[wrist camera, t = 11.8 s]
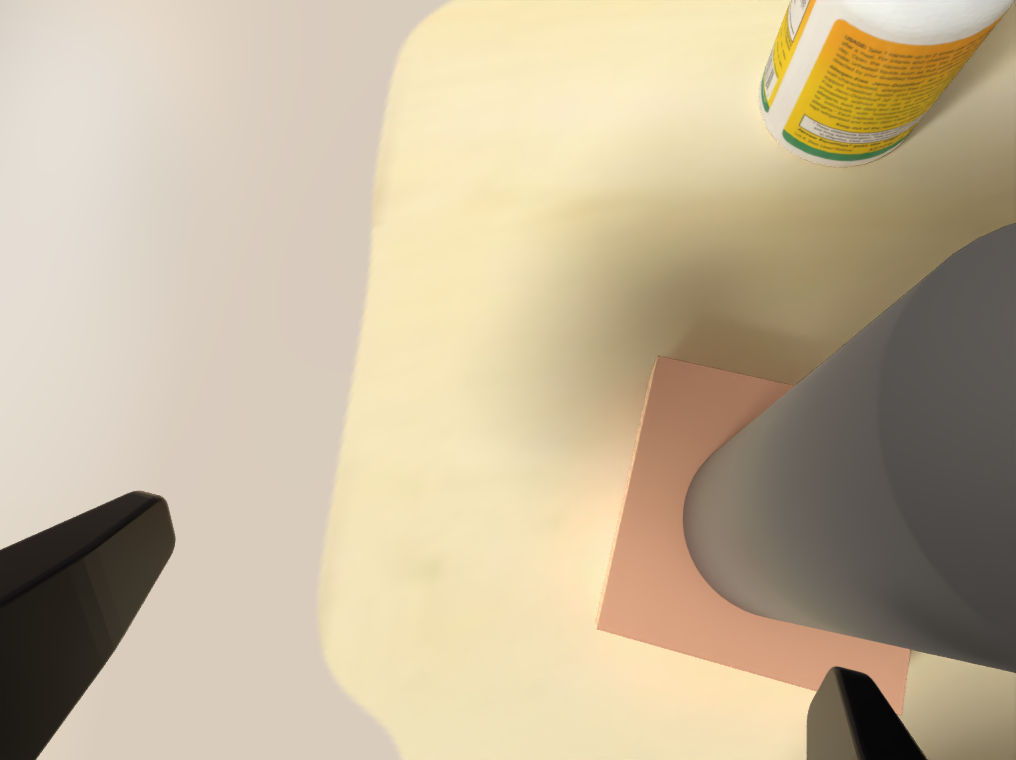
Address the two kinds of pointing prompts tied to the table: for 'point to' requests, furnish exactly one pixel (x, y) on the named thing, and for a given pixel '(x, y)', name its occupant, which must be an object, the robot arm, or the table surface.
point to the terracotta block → (666, 559)
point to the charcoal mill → (884, 478)
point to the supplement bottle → (865, 71)
